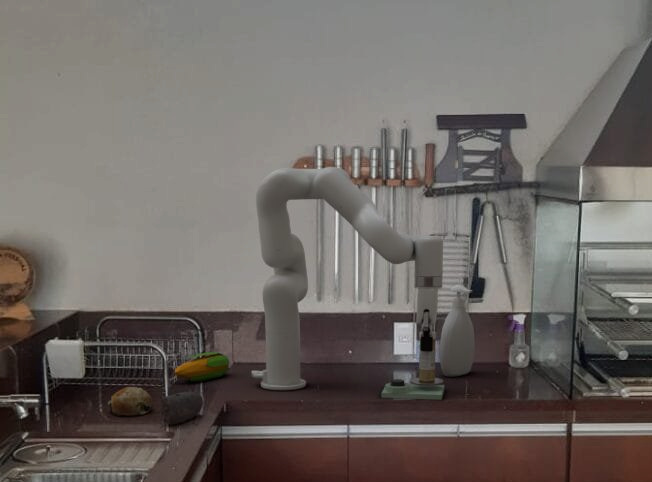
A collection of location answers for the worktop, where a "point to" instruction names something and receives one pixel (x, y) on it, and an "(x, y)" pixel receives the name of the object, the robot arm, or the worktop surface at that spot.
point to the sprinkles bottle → (427, 362)
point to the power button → (397, 382)
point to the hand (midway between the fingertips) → (427, 348)
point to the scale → (413, 391)
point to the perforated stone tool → (180, 407)
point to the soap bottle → (457, 338)
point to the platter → (422, 383)
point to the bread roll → (131, 402)
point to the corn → (204, 367)
